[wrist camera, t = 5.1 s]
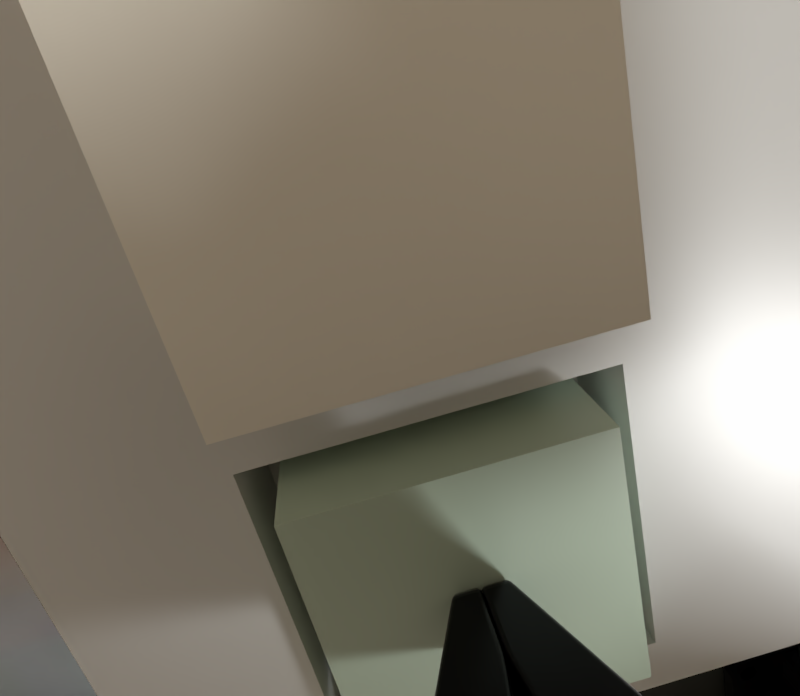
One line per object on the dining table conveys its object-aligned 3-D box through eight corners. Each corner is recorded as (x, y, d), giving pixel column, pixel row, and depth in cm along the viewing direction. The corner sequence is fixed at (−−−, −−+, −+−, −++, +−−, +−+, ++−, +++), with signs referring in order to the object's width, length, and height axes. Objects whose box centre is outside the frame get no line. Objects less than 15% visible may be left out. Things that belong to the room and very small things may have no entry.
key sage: (586, 568, 12) (651, 676, 10) (357, 636, 12) (367, 762, 10) (550, 356, 10) (619, 426, 8) (283, 432, 10) (273, 526, 8)
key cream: (559, 263, 9) (651, 319, 6) (236, 353, 8) (206, 444, 6) (499, -132, 7) (595, -257, 5) (92, -28, 7) (-25, -101, 4)
